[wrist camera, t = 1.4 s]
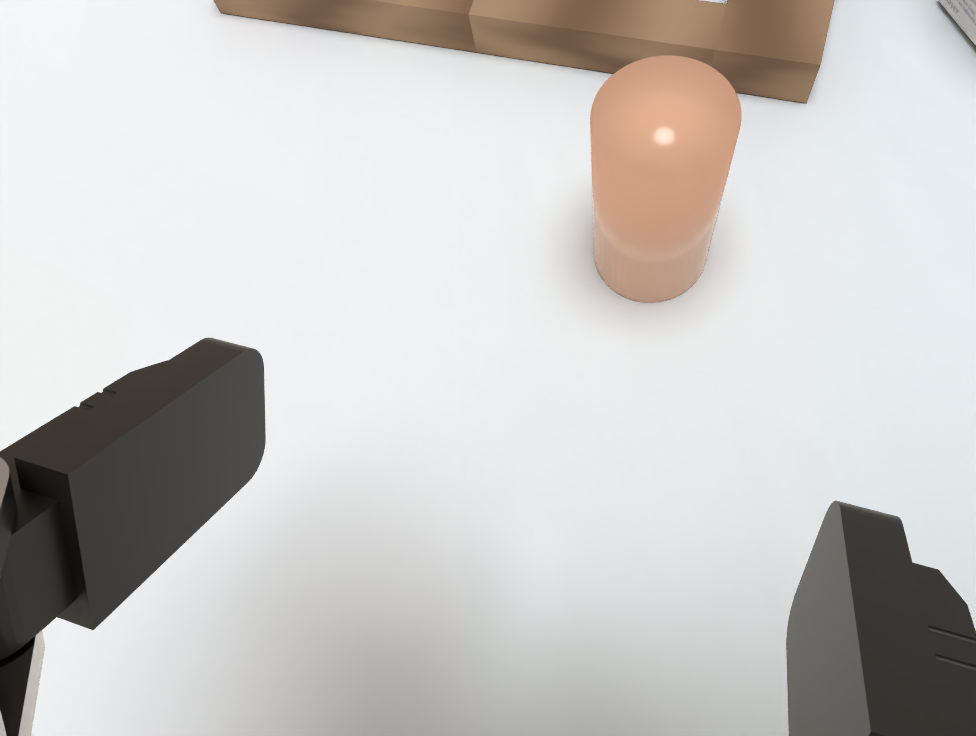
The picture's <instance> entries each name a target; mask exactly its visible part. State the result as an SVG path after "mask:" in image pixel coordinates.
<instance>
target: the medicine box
mask: <svg viewBox="0 0 976 736" xmlns="http://www.w3.org/2000/svg"><path fill="white" fill-rule="evenodd" d="M939 2H940V3H941V5H942V6H943V7H944V8H945V9H946V10H947V12H948V13H949V14H950V15H951V16H952V18H953V19H954V20H955V21H956V23H957V24H958V25H959V26H960V27H961V29H962V30H963V31H964V32H965V33H966V35H967V36H968V37H969V38H970V39H971V41H972V42H973V43H974V44H975V46H976V0H939Z"/></svg>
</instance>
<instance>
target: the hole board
mask: <svg viewBox="0 0 976 736" xmlns="http://www.w3.org/2000/svg"><path fill="white" fill-rule="evenodd" d="M214 2H215V4H216V5H217V7H218V9H219V10H220V12H221V13H225V14H231V15H238V16H244V17H251V18H257V19H264V20H270V21H277V22H283V23H290V24H296V25H303V26H309V27H316V28H322V29H329V30H335V31H342V32H348V33H355V34H361V35H368V36H374V37H381V38H387V39H394V40H400V41H407V42H413V43H420V44H426V45H433V46H439V47H446V48H452V49H459V50H465V51H472V52H478V53H484V54H491V55H497V56H504V57H510V58H517V59H523V60H530V61H536V62H543V63H549V64H556V65H562V66H569V67H575V68H582V69H588V70H595V71H601V72H608V73H616V72H617V71H618V70H620V69H621V68H623V67H625V66H626V65H629V64H631V63H633V62H635V61H638V60H641V59H644V58H649V57H654V56H664V55H673V56H682V57H687V58H692V59H695V60H698V61H701V62H703V63H705V64H707V65H709V66H711V67H712V68H714V69H716V70H717V71H718V72H719V73H721V74H722V75H723V76H724V77H725V78H726V79H727V80H728V81H729V83H730V84H731V85H732V87H733V88H734V90H735V92H737V93H744V94H750V95H757V96H763V97H770V98H776V99H783V100H789V101H796V102H802V103H807V100H808V97H809V94H810V92H811V89H812V86H813V84H814V81H815V78H816V75H817V73H818V70H819V67H820V64H821V60H822V55H823V50H824V46H825V41H826V36H827V32H828V27H829V22H830V18H831V13H832V9H833V4H834V0H728V1H727V4H723V3H715V2H708V1H700V0H214Z"/></svg>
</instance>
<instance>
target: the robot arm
mask: <svg viewBox="0 0 976 736" xmlns="http://www.w3.org/2000/svg"><path fill="white" fill-rule="evenodd" d="M264 449H265V395H264V364H263V359H262V356H261V354H260V353H259V352H258V351H257V350H255V349H252V348H249V347H245V346H241V345H237V344H233V343H229V342H225V341H221V340H218V339H214V338H205V339H202V340H200V341H199V342H197V343H196V344H194V345H192V346H191V347H189V348H188V349H186V350H184V351H183V352H181V353H180V354H178V355H176V356H175V357H173V358H172V359H170V360H168V361H164V362H161V363H158V364H154V365H151V366H148V367H145V368H142V369H139V370H135V371H132V372H130V373H128V374H127V375H125V376H123V377H122V378H120V379H119V380H117V381H115V382H114V383H112V384H110V385H109V386H107V387H105V388H104V389H103V392H102V393H99V392H97V393H95V394H94V395H92V396H91V397H89V398H87V399H86V400H84V401H82V402H81V403H80V406H79V407H75V406H74V407H72V408H71V409H69V410H68V411H66V412H64V413H63V414H61V415H59V416H58V417H56V418H54V419H53V420H51V421H49V422H48V423H46V424H45V425H43V426H41V427H40V428H38V429H36V430H35V431H33V432H31V433H30V434H28V435H26V436H25V437H23V438H22V439H20V440H18V441H17V442H15V443H13V444H12V445H10V446H8V447H7V448H5V449H3V450H2V451H0V736H31V731H32V725H33V719H34V713H35V706H36V700H37V694H38V687H39V681H40V675H41V669H42V662H43V656H44V648H45V643H44V638H43V633H42V629H44V628H45V627H46V626H47V625H48V624H49V623H50V622H51V621H53V620H54V619H55V618H56V617H58V618H61V619H64V620H67V621H69V622H72V623H75V624H78V625H80V626H83V627H86V628H89V629H91V630H94V629H95V628H96V627H97V626H98V625H99V624H100V623H101V622H102V621H103V620H104V619H106V618H107V617H108V616H109V615H110V614H111V613H112V612H113V611H114V610H115V609H116V608H117V607H118V606H119V605H120V604H121V603H122V602H123V601H124V600H125V599H126V598H127V597H129V596H130V595H131V594H132V593H133V592H134V591H135V590H136V589H137V588H138V587H139V586H140V585H141V584H142V583H143V582H144V581H145V580H146V579H147V578H148V577H149V576H150V575H151V574H153V573H154V572H155V571H156V570H157V569H158V568H159V567H160V566H161V565H162V564H163V563H164V562H165V561H166V560H167V559H168V558H169V557H170V556H171V555H172V554H173V553H174V552H176V551H177V550H178V549H179V548H180V547H181V546H182V545H183V544H184V543H185V542H186V541H187V540H188V539H189V538H190V537H191V536H192V535H193V534H194V533H195V532H196V531H197V530H198V529H200V528H201V527H202V526H203V525H204V524H205V523H206V522H207V521H208V520H209V519H210V518H211V517H212V516H213V515H214V514H215V513H216V512H217V511H218V510H219V509H220V508H221V507H223V506H224V505H225V504H226V503H227V502H228V501H229V500H230V499H231V498H232V497H233V496H234V495H235V494H236V493H237V492H238V491H239V490H240V489H241V488H242V487H243V486H244V485H246V484H247V483H248V482H249V480H250V479H251V478H252V477H253V476H254V474H255V472H256V471H257V469H258V467H259V465H260V462H261V460H262V457H263V453H264ZM786 649H787V684H788V720H789V736H976V631H975V628H974V625H973V621H972V618H971V615H970V612H969V609H968V606H967V604H966V603H965V601H964V600H963V599H962V598H961V597H960V595H959V594H958V593H957V592H956V590H955V589H954V588H953V587H952V586H951V584H950V583H949V582H948V581H947V579H946V578H945V577H944V576H943V575H942V573H941V572H940V571H939V570H938V569H934V568H930V567H926V566H923V565H919V564H915V563H912V560H911V556H910V552H909V548H908V544H907V540H906V536H905V532H904V528H903V524H902V521H901V519H900V518H899V517H897V516H893V515H889V514H885V513H882V512H878V511H874V510H870V509H866V508H862V507H858V506H855V505H851V504H847V503H843V502H839V501H834V502H833V503H832V504H831V505H830V507H829V509H828V511H827V513H826V515H825V517H824V520H823V523H822V525H821V528H820V531H819V533H818V536H817V538H816V541H815V544H814V546H813V549H812V551H811V554H810V557H809V559H808V562H807V564H806V567H805V570H804V572H803V575H802V578H801V580H800V583H799V585H798V588H797V591H796V593H795V596H794V600H793V603H792V607H791V611H790V616H789V621H788V628H787V640H786Z"/></svg>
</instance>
